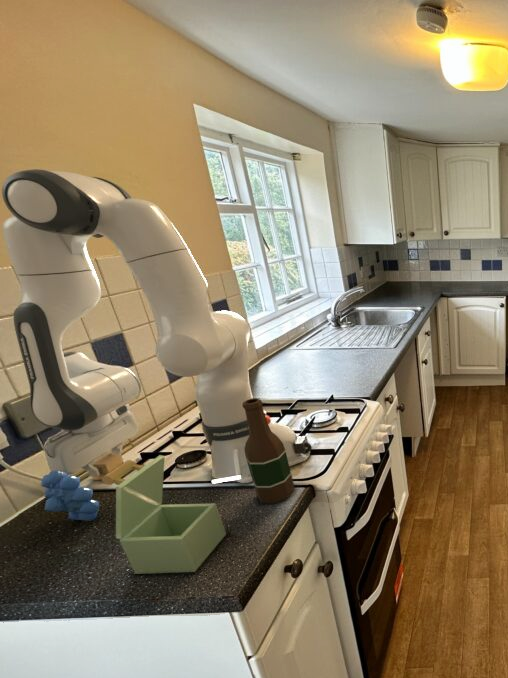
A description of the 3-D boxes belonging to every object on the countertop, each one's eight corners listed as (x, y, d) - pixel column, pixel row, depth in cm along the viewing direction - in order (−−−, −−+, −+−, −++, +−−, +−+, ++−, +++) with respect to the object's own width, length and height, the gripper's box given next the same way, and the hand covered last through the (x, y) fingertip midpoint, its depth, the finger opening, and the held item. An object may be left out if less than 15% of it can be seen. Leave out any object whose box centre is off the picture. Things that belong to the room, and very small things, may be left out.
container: (226, 534, 84) (215, 503, 81) (194, 572, 75) (181, 539, 72) (173, 535, 83) (160, 504, 80) (134, 574, 74) (119, 540, 71)
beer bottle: (279, 480, 100) (255, 391, 91) (302, 488, 98) (280, 396, 88) (249, 499, 94) (221, 405, 84) (274, 508, 91) (247, 411, 82)
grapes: (36, 528, 85) (9, 480, 81) (75, 507, 91) (52, 461, 87) (78, 537, 83) (53, 488, 78) (115, 515, 89) (93, 468, 84)
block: (126, 469, 105) (120, 454, 103) (111, 479, 101) (105, 464, 99) (108, 469, 105) (102, 454, 103) (93, 479, 101) (86, 464, 99)
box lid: (164, 456, 76) (136, 449, 75) (121, 488, 67) (88, 480, 67) (161, 503, 80) (135, 497, 79) (120, 539, 71) (90, 532, 70)
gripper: (56, 441, 87) (82, 494, 93) (134, 401, 106) (152, 447, 112) (25, 442, 87) (53, 495, 93) (108, 401, 106) (128, 447, 111)
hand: (107, 468), depth 102 cm, fingers closed on block, 4 cm apart
